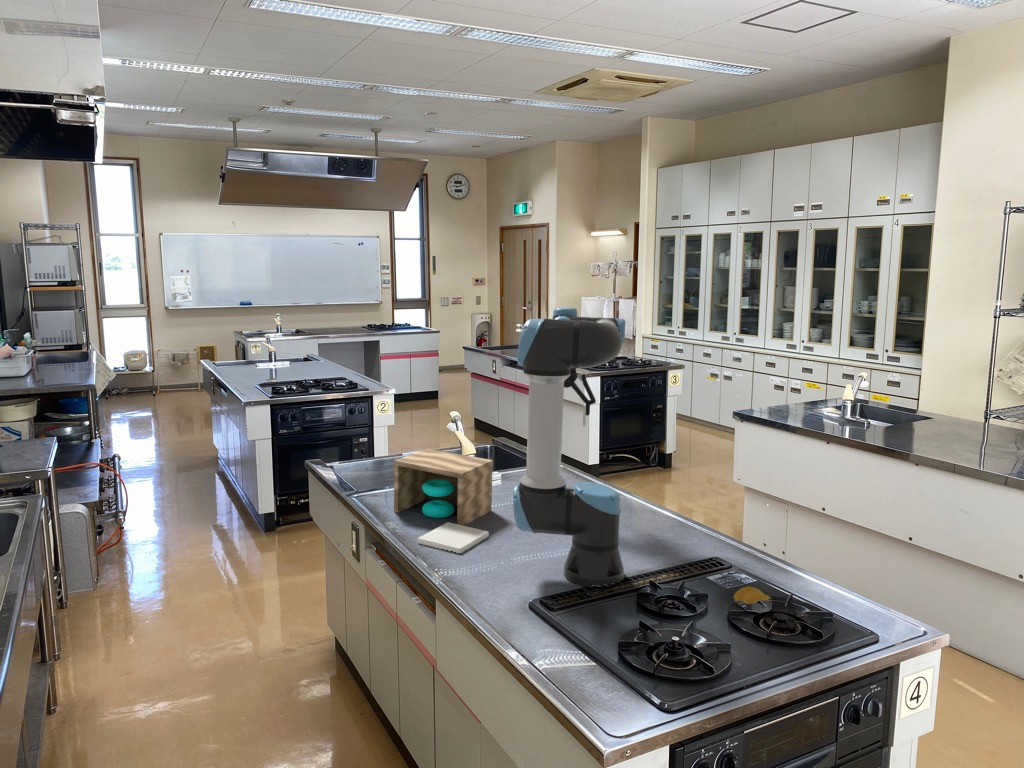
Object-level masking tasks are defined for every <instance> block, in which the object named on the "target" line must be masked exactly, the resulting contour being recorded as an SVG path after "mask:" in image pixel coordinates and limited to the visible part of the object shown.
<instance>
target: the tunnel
mask: <svg viewBox="0 0 1024 768" xmlns="http://www.w3.org/2000/svg"><path fill="white" fill-rule="evenodd" d="M493 463H494V461H493V459H488V458H481V457H476V456H470V455H466V454H459V453H453V452H448V451H443V450H436V449H432V448H425V449H422V450H420V451H416V452H414V453H411V454H408V455H406V456H403V457H400V458H398V459H394V460H393V512H395V513H400V512H403V511H405V510H407V509H408V508H411V507H413V506H415V505H418V504H419V503H421V502H424V501H426V500H431V501H432V500H445V501H448V502H450V503H451V504H452V505H454V506H457V510H456V512H457V515H456V516H457V521H456V524H458V525H462V526H467V525H468V524H470V523H471V522H473V521H476V520H477V519H479V518H481V517H482V516H484V515H486V514H488V513H490V512H492V510H493V509H492V507H493V506H492V504H493V503H492V502H493ZM435 479H442V480H448V481H450V482H452V483H453V484H454V486H455V489H454V491H453V493H451V494H450V495H447V496H444V497H433V496H429V495H427V494H425V493H424V491H423V489H422V486H423V484H424V483H425V482H427V481H429V480H435Z"/></svg>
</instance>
